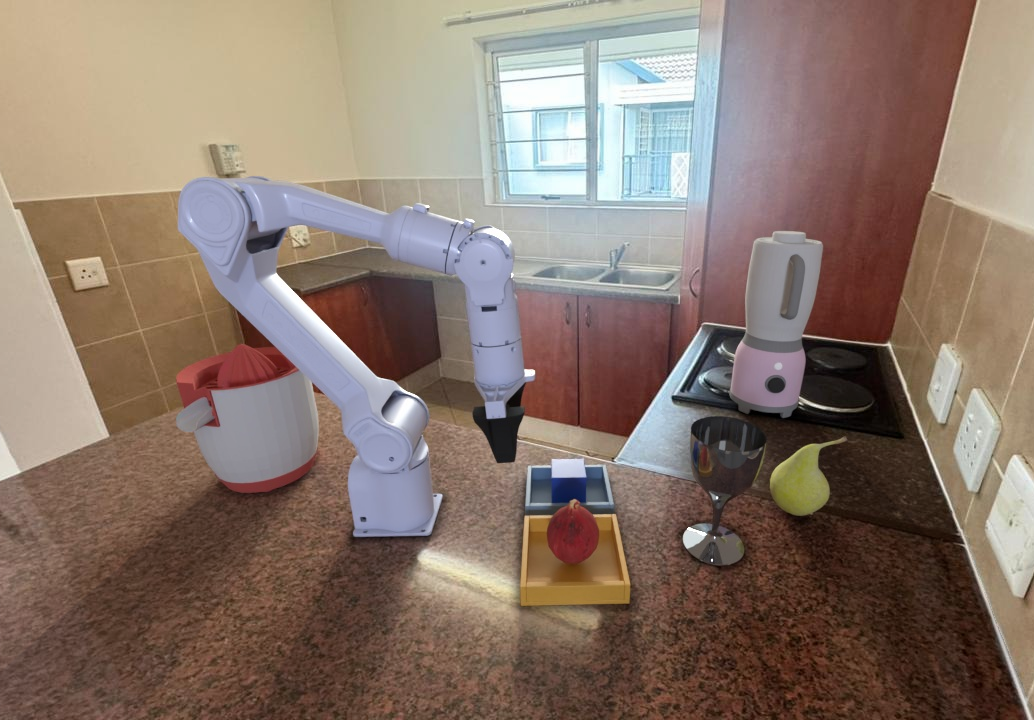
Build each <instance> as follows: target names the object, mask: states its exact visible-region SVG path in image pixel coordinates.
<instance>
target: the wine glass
mask: <svg viewBox="0 0 1034 720" xmlns="http://www.w3.org/2000/svg"><path fill="white" fill-rule="evenodd" d="M688 440H689V443H688V446H689V447H688V454H689V465H690V470H691V473H692V475H693V478H694V480H695V481H696V483H697V484H698V486H699V487H700V488H701V489H703V491H704V493H706V495H707V496H708V497H709V499H710V502H711V505H712V506H711V507H712V522H711V523H704V522H703V523H697V524H693V525H691V526H689V527H688V528H687V529H686V530H685V531H684V533H682V543H683V547H684V548H685V549H686V551H687V552H688V553H689V554H690V555H691V556H693V557H694V558H695V559H697V560H698V561H701V562H704V563H706V564H709V565H713V566H730V565H734V564H736V563H739V562H740V561H741V560H742V558H743V557H744V555H745V551H746V550H745V546H744V542H743V541H742V540H741V538H740V537H739V536H738V534H736V533H735V532H734V531H732V530H730V529H728V528H726V527H724V526H722V525H720V522H721V518H722V515H723V512H724V508H725V506H726V505H727V504H728V503H729V502H730V501H731V500H733V499H735V498H737V497H738V496H741V495H743V494H744V493H746V492H747V491H748V490H750V489H751V488H752V486H753V485H754V484H755V482H756V480H757V478H758V476H759V475H760V471H761V468H762V466H763V463H764V459H765V455H766V450H767V449H766V448H767V441H768V438H767V435H766V433H765V432H764V431H763V430H762V429H761V428H760V427H759V426H757V425H755V424H753V423H751V422H749V421H747V420H743V419H740V418H737V417H730V416H723V415H722V416H721V415H715V416H714V415H713V416H706V417H705V416H704V417H702V418H699V419H697V420H695V421H694V422H693V423H692V424H691V427H690V431H689V439H688Z"/></svg>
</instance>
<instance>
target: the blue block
mask: <svg viewBox="0 0 1034 720" xmlns="http://www.w3.org/2000/svg"><path fill="white" fill-rule="evenodd" d="M550 465H551V496H552V503H570V501H571V500H574V499H576V500H578V501H579V502H580V503H585V502H586V481H587V477H586V470H585V465H586V463H585V458H552V459H550Z"/></svg>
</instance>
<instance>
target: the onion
mask: <svg viewBox="0 0 1034 720" xmlns="http://www.w3.org/2000/svg"><path fill="white" fill-rule="evenodd" d="M579 505H580V502H579V501H578V500H576V499H574V500H571V501H570V503H569V505H568V506H565V507H563V508H561V509H559V510H558V511H557V512H556V513H555V514H554V515H553V516H552V518H551V519H550V522H549V525H548V528H547V541H548V546H549V548H550V550H551V551H552V552H553V554H554V555H555V557H556V558H558V559H560V560H561V561H563V562H565V563H569V564H576V563H580V562H583V561H584V560H586V559H587V558H589V557H590V556H591V555H592V553H593V552H594V551H595V550H596V548H597V545H598V541H599V528H598V525H597V522H596V519H595V517H594V516H593V515H592V514H591V513H590V512H589V511H588V510H587V509H585V508H584V507H581V506H579Z"/></svg>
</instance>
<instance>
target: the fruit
mask: <svg viewBox="0 0 1034 720" xmlns="http://www.w3.org/2000/svg"><path fill="white" fill-rule="evenodd" d="M846 441H848V439H847V437H846V436H842V437H841V438H840V439H837V440H832V441H828V442H823V443H810V444H807V445H804V446H803V447H801V448H800V449H798V450H797V451H795V453H793V454H792V455H791V456H790V457H789V458H787V459H786V460H784V461H782V462H781V463H779V465H777V466H776V467H775V469H774V470H773V471H772V473H771V475H770V479H769V489H770V490H769V491H770V495H771V498H772V500H773V501H774V502H775V504H776V505H777V506H778V507H779V508H780V509H781V510H782V511H784V512H785V513H788V514H790V515H793V516H797V517H798V516H799V517H804V516H808V515H810V514H813V513H815V512H817V511H819V510H820V509H821V508H823V507H824V506H825V505H826V503H827V502H828V501H829V498H830V494H831V493H830V492H831V490H830V484H829V482H828V480H827V478H826V477H825V474H824V473H823V472H822V470H821V469H820V468H819V455H820V451H821V449H823V448H825V447H828V446H831V445H838V444H842V443H845V442H846Z"/></svg>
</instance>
